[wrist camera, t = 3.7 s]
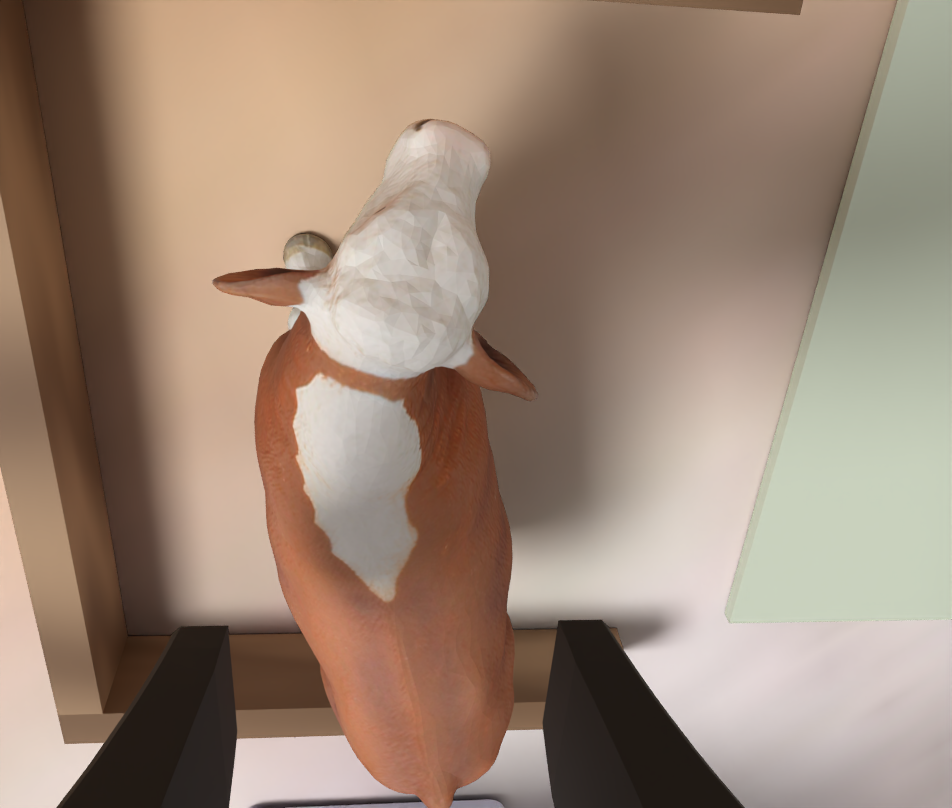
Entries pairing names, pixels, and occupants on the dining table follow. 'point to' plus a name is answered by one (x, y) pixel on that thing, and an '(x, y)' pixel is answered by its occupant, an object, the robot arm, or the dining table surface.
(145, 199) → the dining table surface
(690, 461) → the dining table surface
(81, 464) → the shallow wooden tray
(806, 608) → the felt pad
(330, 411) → the bull figurine
